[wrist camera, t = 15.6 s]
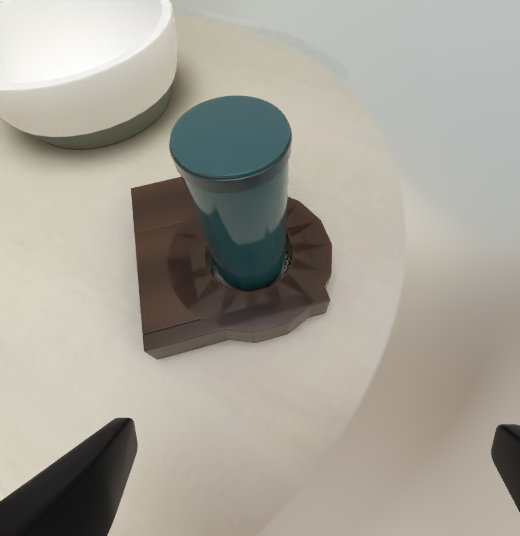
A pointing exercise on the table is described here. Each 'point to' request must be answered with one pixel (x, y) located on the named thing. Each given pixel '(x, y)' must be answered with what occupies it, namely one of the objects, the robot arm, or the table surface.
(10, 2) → the bowl
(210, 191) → the lidded canister
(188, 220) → the display base
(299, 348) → the table surface
